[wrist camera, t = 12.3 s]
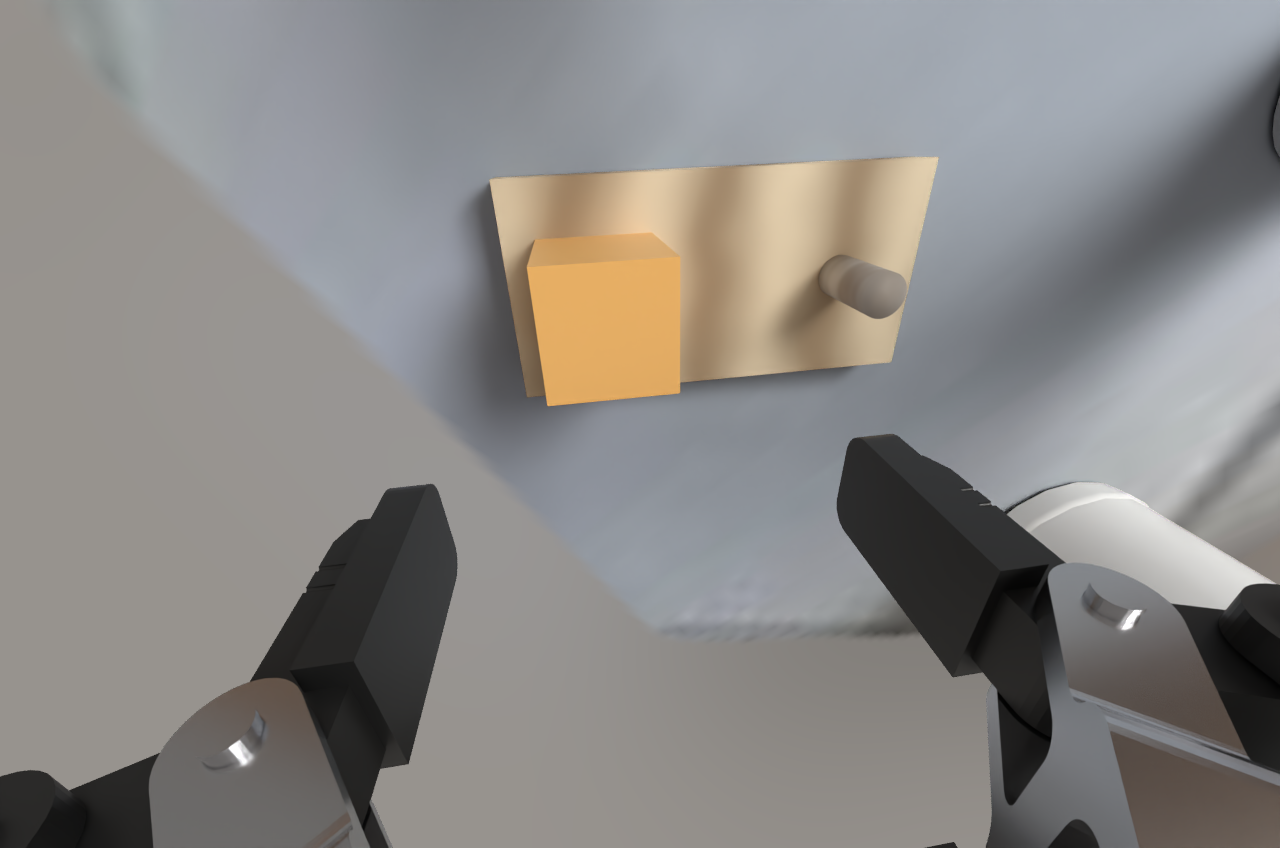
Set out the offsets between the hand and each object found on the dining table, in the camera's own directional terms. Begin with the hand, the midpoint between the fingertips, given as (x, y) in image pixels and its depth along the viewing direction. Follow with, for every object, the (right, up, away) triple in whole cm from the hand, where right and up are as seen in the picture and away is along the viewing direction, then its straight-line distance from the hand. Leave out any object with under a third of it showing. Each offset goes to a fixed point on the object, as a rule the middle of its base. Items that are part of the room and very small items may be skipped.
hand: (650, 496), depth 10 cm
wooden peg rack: (+3, +9, +16) cm, 18 cm away
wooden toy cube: (-2, +8, +13) cm, 15 cm away
